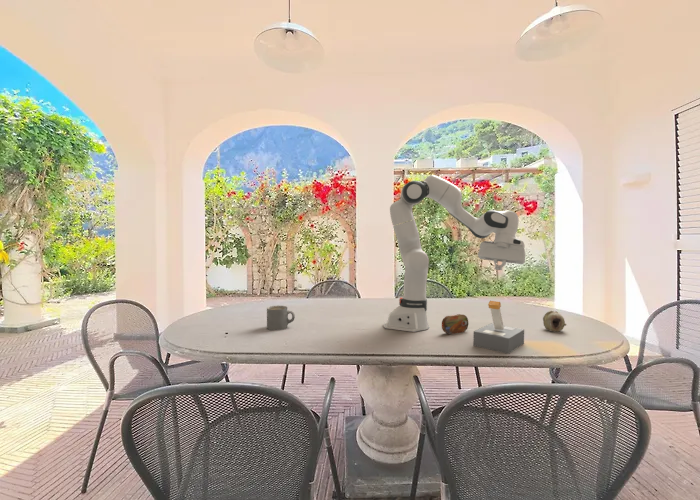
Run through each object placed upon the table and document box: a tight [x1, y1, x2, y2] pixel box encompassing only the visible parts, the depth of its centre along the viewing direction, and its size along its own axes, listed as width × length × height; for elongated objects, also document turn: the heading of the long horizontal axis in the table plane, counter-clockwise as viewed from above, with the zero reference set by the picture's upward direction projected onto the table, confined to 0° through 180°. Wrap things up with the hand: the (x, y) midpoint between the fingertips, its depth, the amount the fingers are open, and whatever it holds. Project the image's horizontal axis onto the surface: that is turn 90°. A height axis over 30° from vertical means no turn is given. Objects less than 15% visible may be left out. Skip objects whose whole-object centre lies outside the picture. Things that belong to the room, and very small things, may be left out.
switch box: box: [472, 322, 525, 354], centre depth 142 cm, size 18×14×6 cm
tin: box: [441, 313, 469, 335], centre depth 160 cm, size 15×3×8 cm, turn 118°
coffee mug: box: [266, 305, 296, 331], centre depth 167 cm, size 13×10×10 cm
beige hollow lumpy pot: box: [542, 310, 567, 333], centre depth 164 cm, size 9×8×10 cm
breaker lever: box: [487, 300, 505, 330], centre depth 139 cm, size 2×4×13 cm, turn 45°
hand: (498, 269), depth 156 cm, fingers closed
